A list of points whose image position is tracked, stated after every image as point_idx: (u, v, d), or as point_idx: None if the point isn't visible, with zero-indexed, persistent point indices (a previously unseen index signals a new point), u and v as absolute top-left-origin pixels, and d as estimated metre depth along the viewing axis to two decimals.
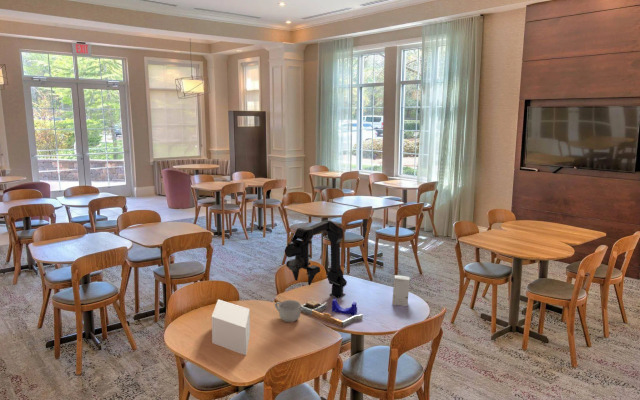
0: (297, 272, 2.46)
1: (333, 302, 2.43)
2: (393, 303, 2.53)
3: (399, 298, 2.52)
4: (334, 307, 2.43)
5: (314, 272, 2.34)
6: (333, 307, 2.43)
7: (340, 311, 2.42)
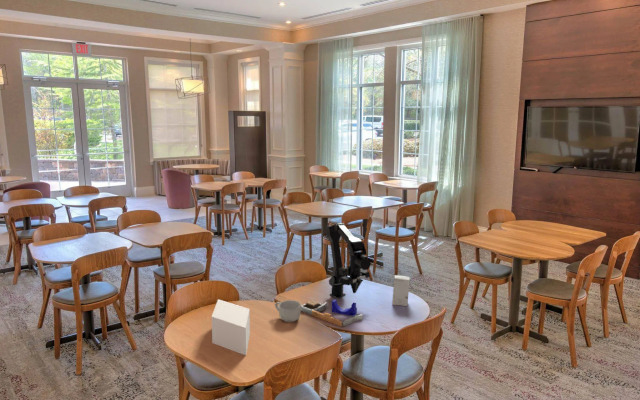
0: None
1: (333, 303, 2.42)
2: (393, 303, 2.53)
3: (399, 298, 2.52)
4: (334, 308, 2.42)
5: (341, 281, 2.41)
6: (333, 308, 2.42)
7: (340, 312, 2.41)
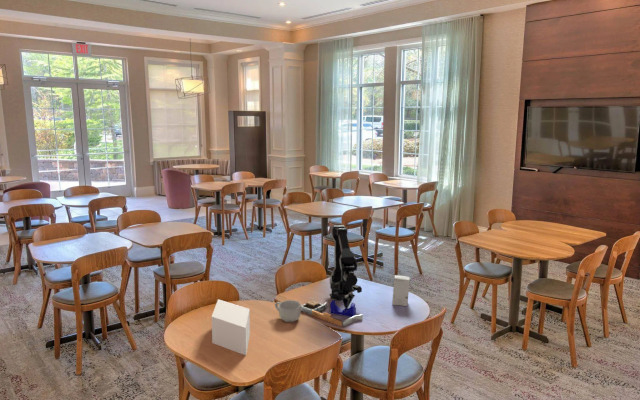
0: None
1: (331, 304, 2.40)
2: (393, 303, 2.53)
3: (399, 298, 2.52)
4: (333, 309, 2.41)
5: (332, 297, 2.37)
6: (332, 309, 2.41)
7: (339, 312, 2.40)
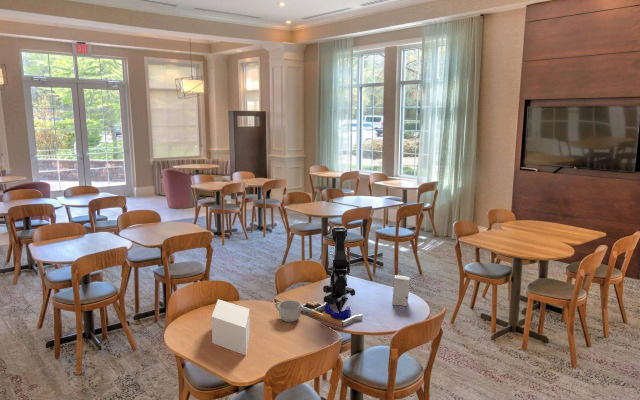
0: None
1: (326, 307, 2.36)
2: (393, 303, 2.53)
3: (399, 298, 2.52)
4: (327, 312, 2.36)
5: (325, 300, 2.33)
6: (326, 312, 2.37)
7: (334, 316, 2.36)
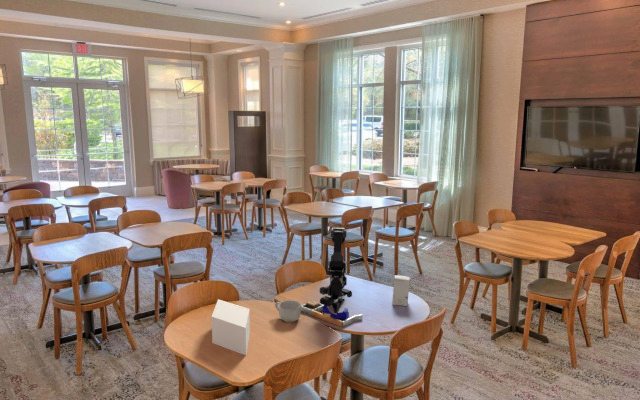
0: None
1: (323, 309, 2.34)
2: (393, 303, 2.53)
3: (399, 298, 2.52)
4: None
5: (321, 302, 2.31)
6: None
7: None
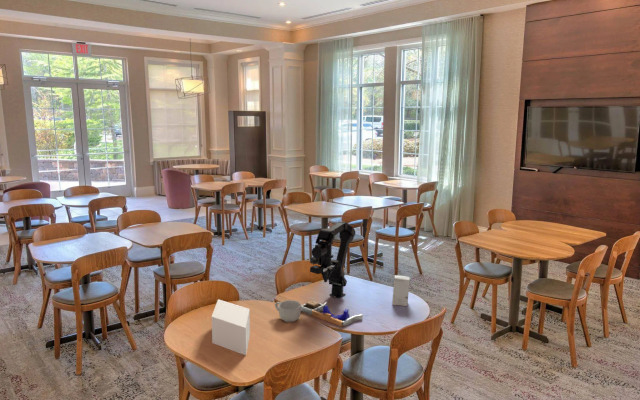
0: None
1: (324, 309, 2.34)
2: (393, 303, 2.53)
3: (399, 298, 2.52)
4: None
5: (311, 270, 2.44)
6: None
7: None
